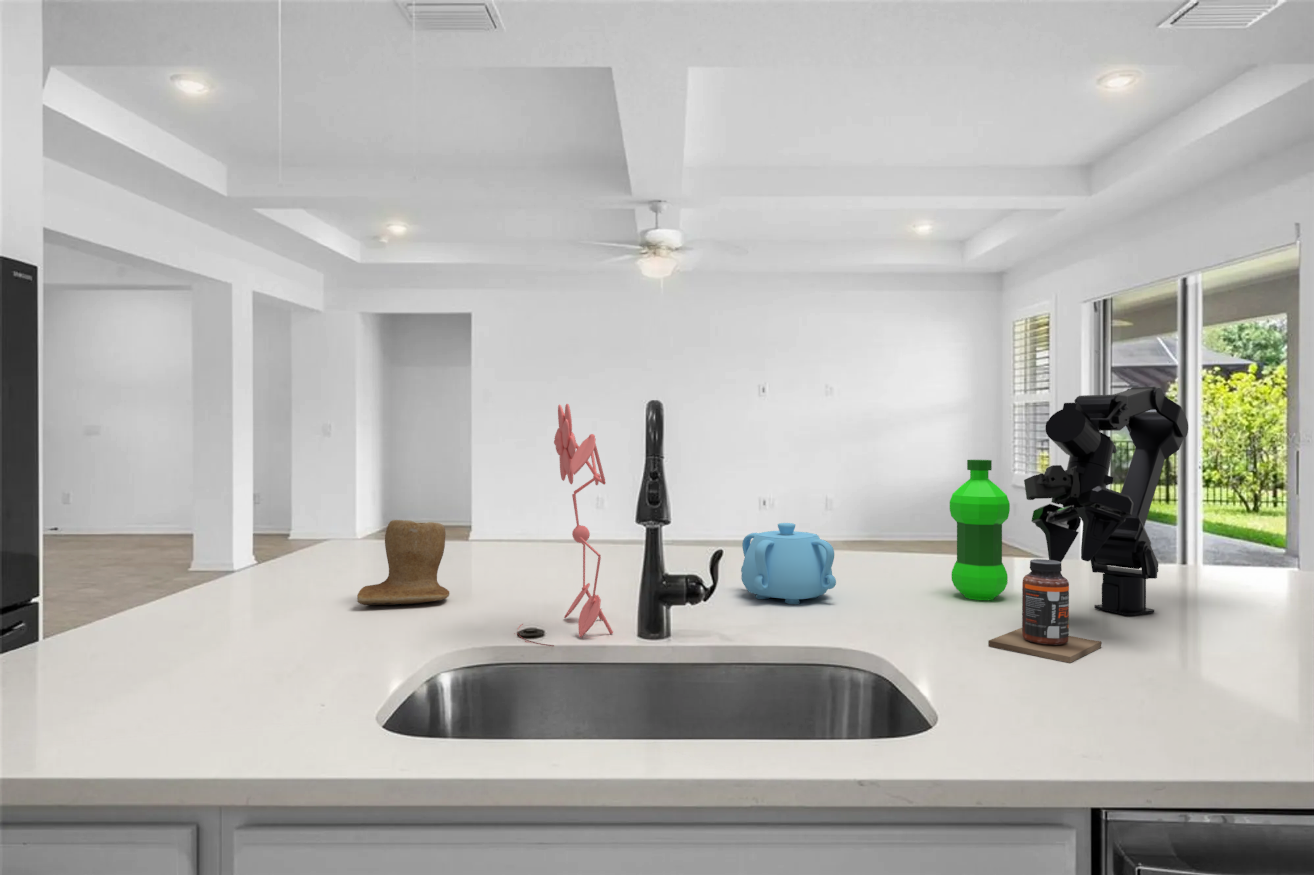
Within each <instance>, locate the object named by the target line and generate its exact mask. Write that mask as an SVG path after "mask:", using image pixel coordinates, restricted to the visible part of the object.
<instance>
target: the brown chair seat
mask: <svg viewBox="0 0 1314 875" xmlns="http://www.w3.org/2000/svg"><path fill="white" fill-rule="evenodd" d="M446 536H447V535H446V528H445V526H444V524H443V523H439V522H433V521H428V522H417V521H412V520H408V519H407V520H406V519H405V520H404V519H392V520H390V521H389V523H388V525H387V527H386V529H385V534H384V548H385V554H386V558H387V565H388V576H387V578H386V579H385V580H384V581H382V582H380V583H376V584H371V585H365V586H362V588H361V589H360V590H359V591H358V593H357V598H356V599H357V600H356V602H357V603H358V604H359V605H363V606H396V605H395V604H401V605H413V604H414V605H415V604H423V603H430V602H435V601H442V600H445V599H447V598H448V597H449V596H450V594H451V593H450V591H449V590H448V589H447V588H446V587H443V586H442V585H441V584H440V583H439V582H438V571H439V567H440V564H441V561H442V559H443V556H444V552H445V546H446Z"/></svg>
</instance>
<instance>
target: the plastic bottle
mask: <svg viewBox="0 0 1314 875" xmlns="http://www.w3.org/2000/svg"><path fill="white" fill-rule="evenodd" d="M992 462H993V460H992V459H967V461H966V466H967V467H966V468H967V471H969V472H970V475H969V476H970V477H969V479H968V480H967V481H965V482H964V483H963V484H962V485H960V486H959V487H957V489H956V490H955V491H954V492H953V493H952V495H951V497H950V500H949V512H950V516H951V517H952V519H954V521H955V522H956V560H955V562H954V565H953V567H952V570H951V581H952V584H953V586H954V588H955V589H956V590H957V591H958V592H959V593H960V594H961V595H964V596H963V597H964V598H966V599H969V600H975V601H993V600H995V598H996V597H998V596H999V595H1000V594H1002V593H1003V592H1004V591H1005V590H1006V587H1007V585H1008V583H1009V582H1008V578H1009V577H1008V572H1007V570H1006V566H1005V565H1004V563H1003V523H1005V522H1006V521H1007V520H1008V519H1009V516H1010V511H1011V510H1010V509H1011V506H1010V505H1011V504H1010V500H1009V498H1008V495H1007V494H1006V493H1005V492H1004V490H1002V489H1001V488H1000V487H999V486H998V485H997V484H995V483H994V482H993V481H992V480H990V478H989V471H992V468H993V467H992V465H993V464H992Z"/></svg>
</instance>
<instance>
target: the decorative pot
mask: <svg viewBox="0 0 1314 875" xmlns="http://www.w3.org/2000/svg"><path fill="white" fill-rule="evenodd" d="M777 528H778V530H770V531H764V532H763V531H762V532H751V533H749V534H747V535H746V536H744V538H743V540H742V546H741V547H742V552H743V556H744V558H743V562H742V566H741V570H740V572H741V576H740V577H741V582H742V583H743V586H744V587H745V589H746V590H747V591H748V593H750V594H752V595H753V594H754V595H755V596H754V598H756V599H758V600H768V599H770V598H776V599H784V603H785V604H787V605H799V604H801V601H800V600H806V599H817V598H819V597H820V596H823V595H824V594H826V593H827V592H828V591H829V590H831V589H834V588H835V586H836V585H837V580H836V578H835V576H834V575H833V570H832V567H833V564H834V561H835V550H834V546H832V544H831V543H830V542H828V541H826V540H824V539H822V538H820V536H819V535H818V534H817V533H812V532H807V531H796V530H795V528H796V524H795V523H793V522H792V523H791V522H781V523H777Z"/></svg>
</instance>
